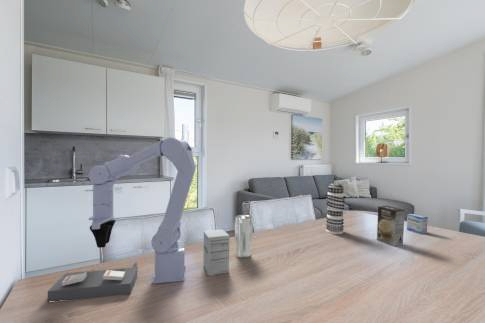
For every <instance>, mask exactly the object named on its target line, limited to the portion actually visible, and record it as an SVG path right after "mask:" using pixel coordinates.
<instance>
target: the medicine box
mask: <svg viewBox="0 0 485 323" xmlns="http://www.w3.org/2000/svg"><path fill="white" fill-rule="evenodd" d="M406 217H407V220H406V230H407V231H409V232H412V231H413V233H416V234H420V235H424V234H425V233H426V234H427V233H428V221H429V220H428V217H427V216H423V215H419V214H414V213H408V214H407V216H406Z"/></svg>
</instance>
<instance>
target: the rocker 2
mask: <svg viewBox="0 0 485 323" xmlns="http://www.w3.org/2000/svg"><path fill="white" fill-rule="evenodd" d="M106 270H107V271H106V272H105V274H104V275H103V279H108V280H122V279H123V277H124V275H125V272H124V271H111V270H109V269H106Z"/></svg>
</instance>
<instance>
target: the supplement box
mask: <svg viewBox="0 0 485 323" xmlns="http://www.w3.org/2000/svg"><path fill="white" fill-rule="evenodd" d="M203 268H204V269H205V271H206V274H207V275H208V276H214V275H219V274H225V273H229V272H230V234H229V233H227V232H226V231H225V229H221V228H220V229H211V230H204V231H203Z"/></svg>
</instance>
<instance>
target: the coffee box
mask: <svg viewBox="0 0 485 323" xmlns="http://www.w3.org/2000/svg"><path fill="white" fill-rule="evenodd" d="M377 208H378V209H377V227H376V230H377V231H376V240H377V241H379V242H382V243H385V244H386V245H390V246H393V247H397V246H403V245H404V234H405V232H404V228H405V213H406V212H405V211H406V210H405V209H402V208H398V207H394V206H390V205H382V206H377Z"/></svg>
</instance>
